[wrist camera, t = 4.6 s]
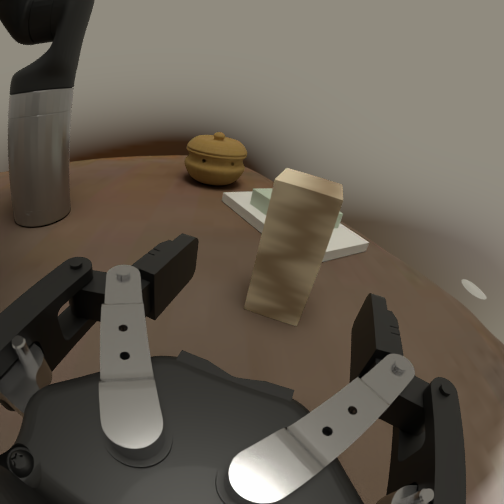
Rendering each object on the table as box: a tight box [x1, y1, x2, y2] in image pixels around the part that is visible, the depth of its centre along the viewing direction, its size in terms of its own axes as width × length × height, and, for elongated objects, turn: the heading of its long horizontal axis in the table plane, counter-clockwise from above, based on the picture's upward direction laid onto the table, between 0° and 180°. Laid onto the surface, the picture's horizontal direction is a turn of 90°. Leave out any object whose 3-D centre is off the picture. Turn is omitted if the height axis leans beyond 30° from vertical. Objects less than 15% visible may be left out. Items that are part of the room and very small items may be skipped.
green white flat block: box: [222, 189, 369, 262], centre depth 44 cm, size 20×14×4 cm
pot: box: [185, 132, 247, 185], centre depth 54 cm, size 12×12×10 cm
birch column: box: [244, 168, 343, 327], centre depth 25 cm, size 5×5×12 cm
